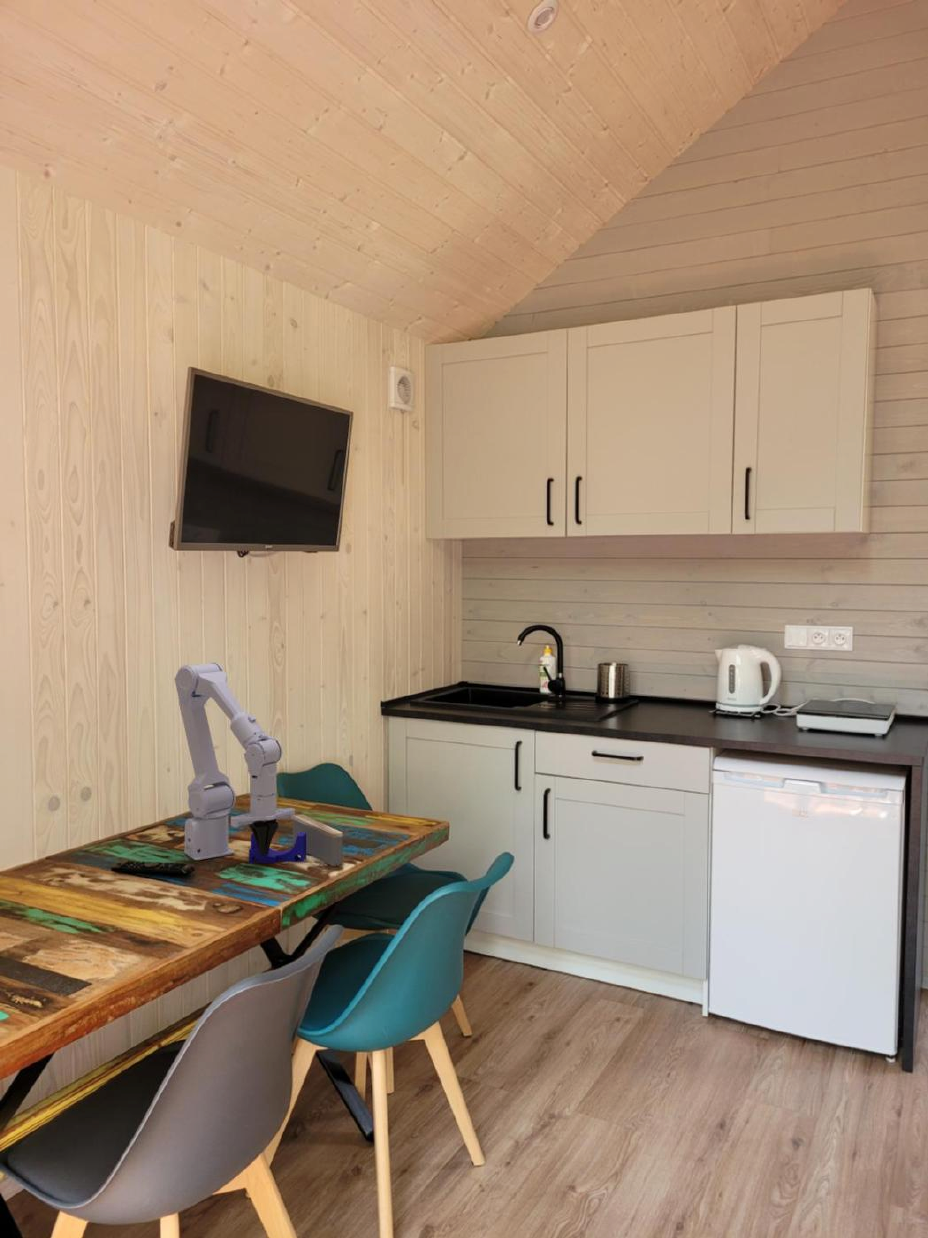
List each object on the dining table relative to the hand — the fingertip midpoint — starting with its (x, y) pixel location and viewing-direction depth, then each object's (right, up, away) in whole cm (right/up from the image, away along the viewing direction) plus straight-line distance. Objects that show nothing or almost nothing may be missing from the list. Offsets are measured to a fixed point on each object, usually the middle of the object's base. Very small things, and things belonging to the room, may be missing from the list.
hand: (263, 854), depth 209 cm
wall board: (+11, -2, +8) cm, 13 cm away
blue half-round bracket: (+2, -3, +4) cm, 5 cm away
